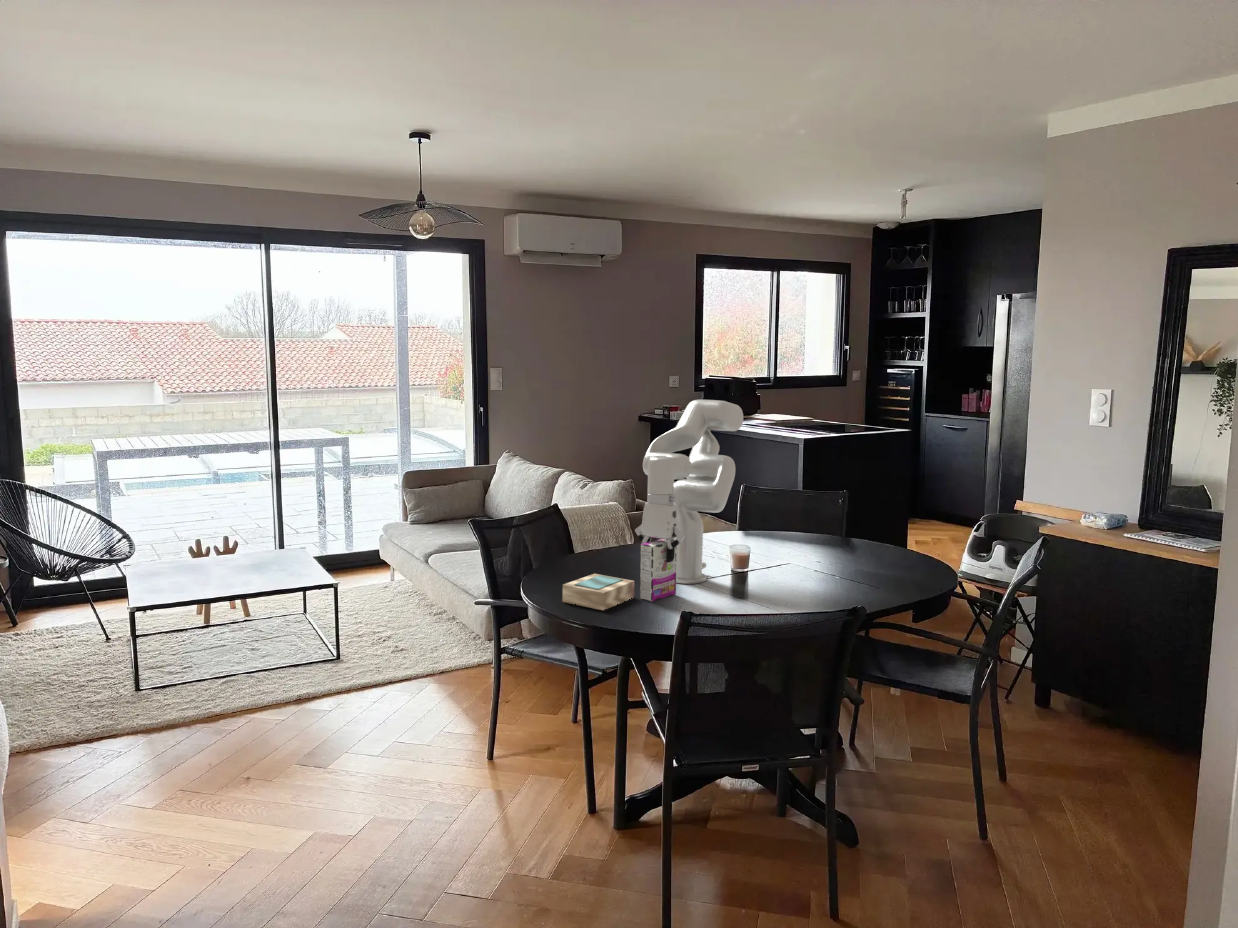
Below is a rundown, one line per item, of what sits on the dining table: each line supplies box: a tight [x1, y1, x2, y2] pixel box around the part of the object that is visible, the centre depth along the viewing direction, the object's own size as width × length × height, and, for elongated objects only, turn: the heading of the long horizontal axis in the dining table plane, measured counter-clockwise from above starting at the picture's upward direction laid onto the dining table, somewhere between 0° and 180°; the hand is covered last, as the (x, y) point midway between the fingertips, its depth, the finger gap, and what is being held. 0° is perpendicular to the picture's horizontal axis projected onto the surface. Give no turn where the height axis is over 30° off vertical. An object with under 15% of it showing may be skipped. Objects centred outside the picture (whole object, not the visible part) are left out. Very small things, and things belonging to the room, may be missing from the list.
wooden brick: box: [561, 573, 635, 611], centre depth 264 cm, size 16×14×5 cm
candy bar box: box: [639, 539, 677, 602], centre depth 268 cm, size 11×5×16 cm, turn 137°
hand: (658, 559), depth 268 cm, fingers open, 6 cm apart
